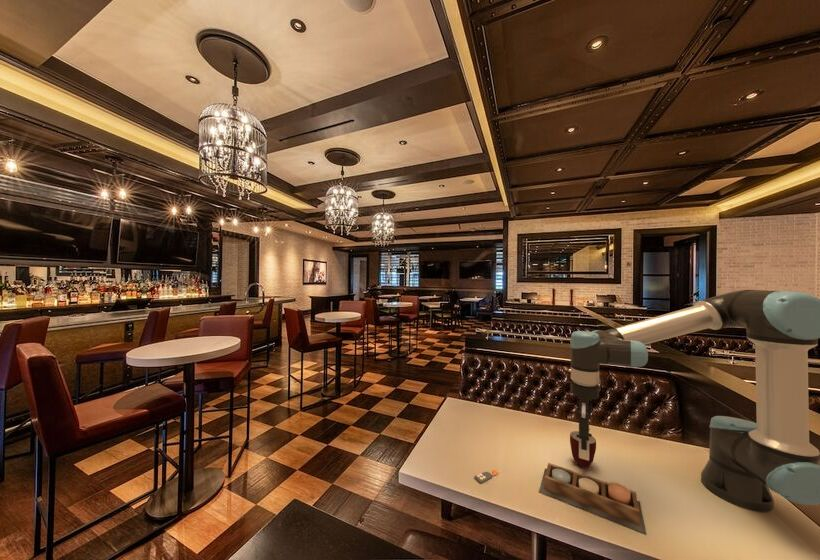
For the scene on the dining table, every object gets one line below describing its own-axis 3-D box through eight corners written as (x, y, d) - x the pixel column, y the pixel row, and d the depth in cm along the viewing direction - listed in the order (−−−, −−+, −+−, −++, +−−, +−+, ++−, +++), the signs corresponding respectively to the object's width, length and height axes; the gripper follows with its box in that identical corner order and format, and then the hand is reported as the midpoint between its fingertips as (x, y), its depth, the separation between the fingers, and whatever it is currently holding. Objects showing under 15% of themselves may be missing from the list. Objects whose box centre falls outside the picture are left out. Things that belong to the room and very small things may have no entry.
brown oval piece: (629, 498, 83) (629, 487, 83) (631, 510, 79) (631, 498, 79) (607, 490, 86) (608, 480, 86) (608, 501, 82) (608, 490, 82)
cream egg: (598, 492, 88) (598, 482, 88) (598, 503, 83) (599, 492, 83) (578, 485, 90) (579, 475, 90) (578, 495, 86) (578, 485, 86)
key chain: (481, 486, 91) (481, 481, 91) (473, 479, 94) (473, 474, 94) (508, 473, 98) (508, 468, 98) (500, 466, 101) (500, 462, 101)
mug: (599, 479, 95) (600, 450, 94) (571, 472, 98) (572, 444, 98) (593, 461, 104) (593, 434, 104) (568, 455, 107) (568, 429, 107)
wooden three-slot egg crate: (639, 502, 85) (640, 489, 85) (646, 535, 74) (646, 520, 74) (545, 469, 99) (545, 457, 99) (538, 492, 88) (539, 479, 88)
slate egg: (570, 482, 92) (570, 472, 92) (569, 492, 87) (569, 482, 87) (552, 476, 95) (553, 466, 94) (550, 485, 90) (551, 475, 90)
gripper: (572, 373, 95) (571, 443, 95) (568, 386, 84) (568, 465, 84) (599, 378, 91) (598, 451, 91) (598, 391, 80) (598, 474, 80)
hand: (584, 457), depth 88 cm, fingers closed
